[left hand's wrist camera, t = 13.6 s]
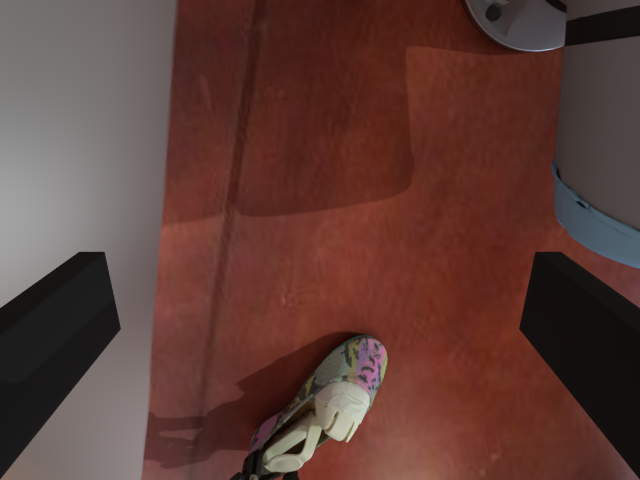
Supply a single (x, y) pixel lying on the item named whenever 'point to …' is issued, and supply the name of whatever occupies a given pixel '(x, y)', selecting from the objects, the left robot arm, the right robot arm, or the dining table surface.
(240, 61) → the dining table surface
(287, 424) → the ballet flat
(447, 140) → the dining table surface
